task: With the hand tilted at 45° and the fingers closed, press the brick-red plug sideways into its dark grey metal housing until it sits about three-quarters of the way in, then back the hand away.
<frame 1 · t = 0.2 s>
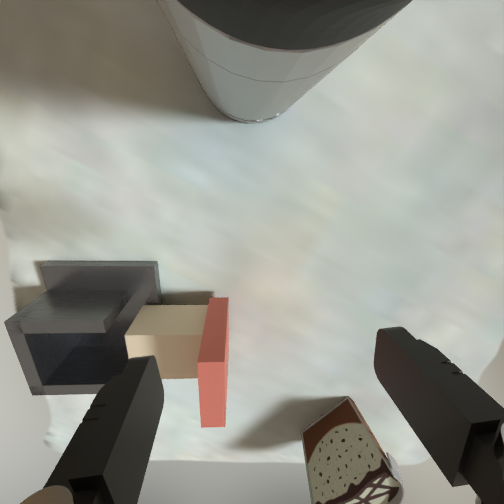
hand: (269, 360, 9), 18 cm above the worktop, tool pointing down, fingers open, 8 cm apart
food container: (337, 422, 38), on the worktop
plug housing: (114, 317, 29), on the worktop
red plug: (179, 355, 24), point 6 cm above the worktop, slide at 0.0 cm
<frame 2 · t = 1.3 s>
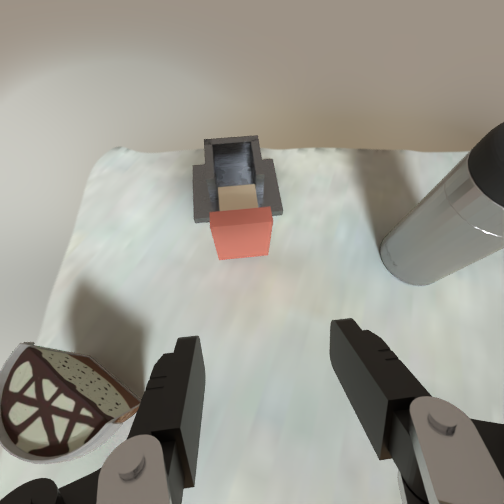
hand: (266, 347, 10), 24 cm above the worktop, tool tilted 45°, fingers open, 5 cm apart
food container: (97, 402, 30), on the worktop
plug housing: (236, 191, 43), on the worktop
red plug: (239, 213, 34), point 6 cm above the worktop, slide at 0.0 cm
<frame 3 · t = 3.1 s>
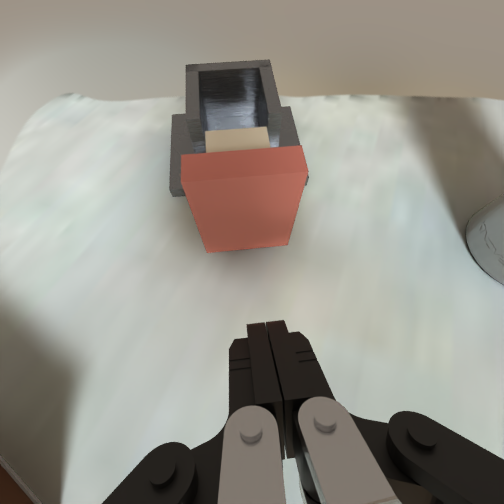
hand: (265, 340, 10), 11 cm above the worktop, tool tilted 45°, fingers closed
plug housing: (236, 152, 29), on the worktop
red plug: (240, 172, 20), point 6 cm above the worktop, slide at 0.0 cm
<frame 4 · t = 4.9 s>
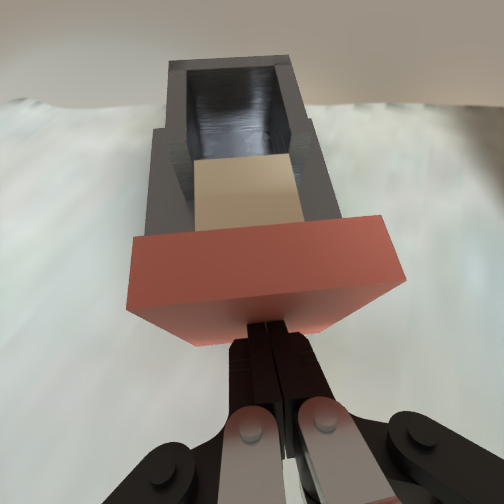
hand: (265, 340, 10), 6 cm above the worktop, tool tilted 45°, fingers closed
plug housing: (239, 181, 21), on the worktop
red plug: (250, 230, 12), point 6 cm above the worktop, slide at 0.2 cm, touching gripper
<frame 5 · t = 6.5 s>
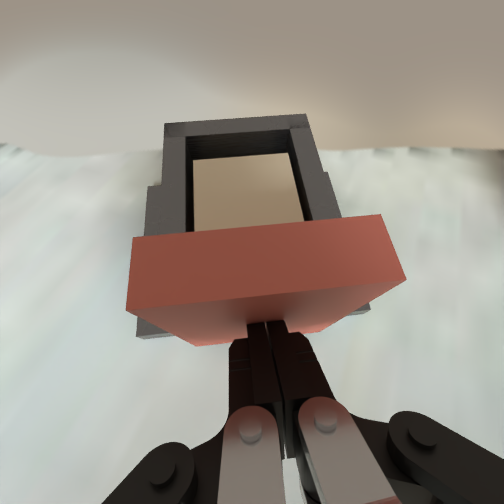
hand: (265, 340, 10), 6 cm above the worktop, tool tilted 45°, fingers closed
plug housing: (246, 248, 19), on the worktop
red plug: (250, 230, 12), point 6 cm above the worktop, slide at 6.5 cm, touching gripper
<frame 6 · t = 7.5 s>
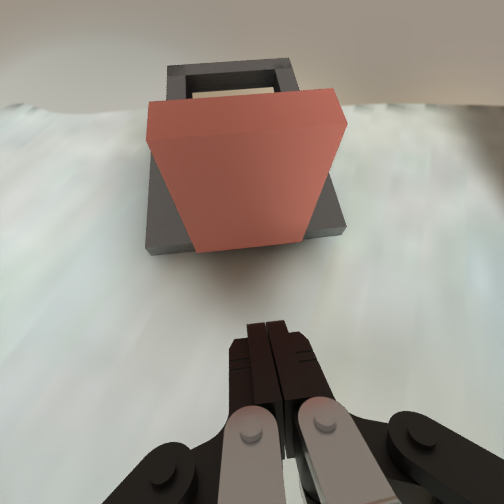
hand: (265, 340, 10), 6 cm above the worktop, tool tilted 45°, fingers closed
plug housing: (240, 185, 21), on the worktop
red plug: (240, 143, 15), point 6 cm above the worktop, slide at 6.5 cm
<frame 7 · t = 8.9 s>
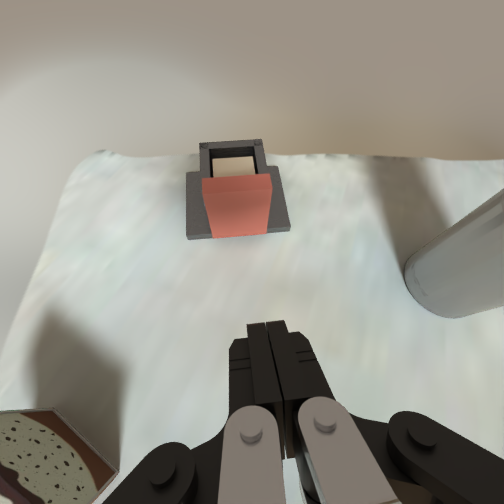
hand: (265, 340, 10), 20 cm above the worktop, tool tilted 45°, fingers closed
food container: (60, 471, 24), on the worktop
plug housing: (236, 203, 38), on the worktop
red plug: (235, 186, 31), point 6 cm above the worktop, slide at 6.5 cm
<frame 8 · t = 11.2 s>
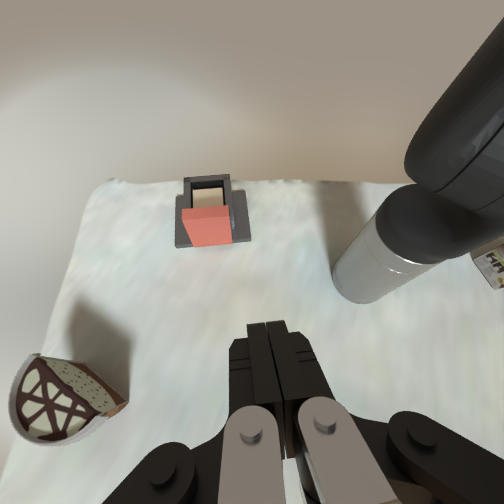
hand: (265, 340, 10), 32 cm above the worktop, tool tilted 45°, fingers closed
food container: (91, 401, 37), on the worktop
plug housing: (212, 220, 50), on the worktop
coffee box: (502, 268, 46), on the worktop
red plug: (208, 210, 44), point 6 cm above the worktop, slide at 6.5 cm
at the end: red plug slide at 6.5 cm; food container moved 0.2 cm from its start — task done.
